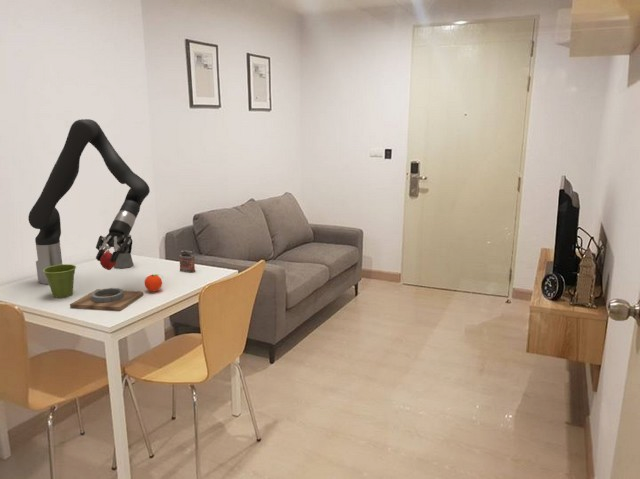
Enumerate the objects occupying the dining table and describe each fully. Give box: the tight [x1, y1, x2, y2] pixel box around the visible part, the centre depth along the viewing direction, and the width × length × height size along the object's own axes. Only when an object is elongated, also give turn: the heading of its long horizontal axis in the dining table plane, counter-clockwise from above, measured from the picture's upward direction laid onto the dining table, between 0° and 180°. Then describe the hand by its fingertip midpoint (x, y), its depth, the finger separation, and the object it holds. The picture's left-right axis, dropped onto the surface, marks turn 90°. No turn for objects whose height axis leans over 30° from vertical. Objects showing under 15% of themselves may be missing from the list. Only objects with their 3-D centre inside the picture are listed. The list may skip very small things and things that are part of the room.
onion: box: [99, 249, 116, 271], centre depth 196 cm, size 6×6×8 cm
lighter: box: [178, 249, 196, 274], centre depth 236 cm, size 8×3×10 cm, turn 68°
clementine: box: [144, 273, 164, 292], centre depth 208 cm, size 8×7×7 cm
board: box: [69, 288, 144, 312], centre depth 196 cm, size 20×18×2 cm
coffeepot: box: [113, 233, 134, 270], centre depth 242 cm, size 15×9×18 cm, turn 51°
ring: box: [91, 287, 124, 303], centre depth 196 cm, size 11×11×2 cm
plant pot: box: [43, 263, 77, 299], centre depth 202 cm, size 12×12×11 cm
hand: (105, 260), depth 194 cm, fingers closed on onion, 5 cm apart
